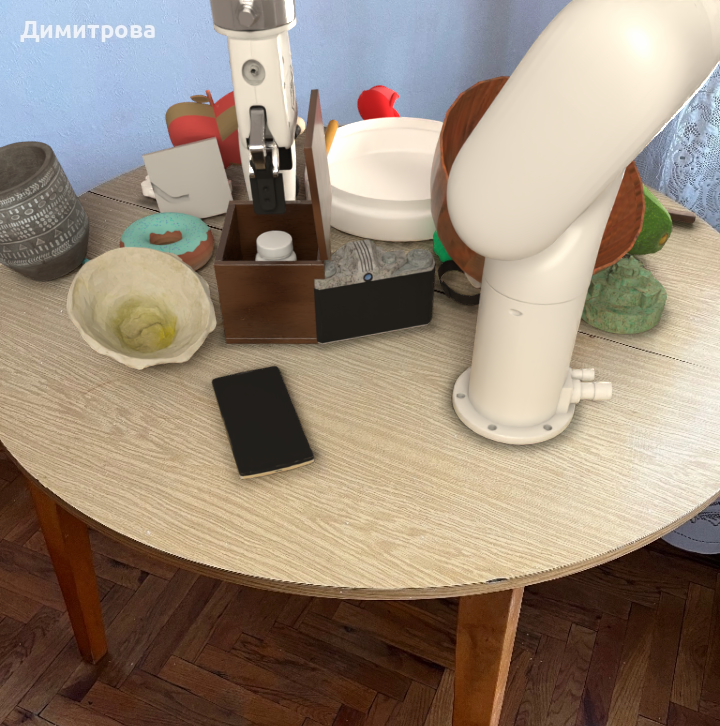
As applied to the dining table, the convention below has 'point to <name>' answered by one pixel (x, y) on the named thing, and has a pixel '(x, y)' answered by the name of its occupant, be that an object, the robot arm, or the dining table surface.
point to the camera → (373, 291)
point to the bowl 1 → (141, 307)
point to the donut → (172, 236)
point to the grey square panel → (189, 179)
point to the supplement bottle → (275, 247)
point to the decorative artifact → (624, 298)
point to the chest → (268, 276)
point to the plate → (383, 178)
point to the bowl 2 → (452, 137)
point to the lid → (318, 173)
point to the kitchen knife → (681, 216)
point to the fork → (330, 134)
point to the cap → (377, 103)
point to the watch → (457, 297)
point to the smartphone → (261, 422)
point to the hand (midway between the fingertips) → (274, 190)
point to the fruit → (652, 227)
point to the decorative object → (206, 124)
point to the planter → (39, 214)
